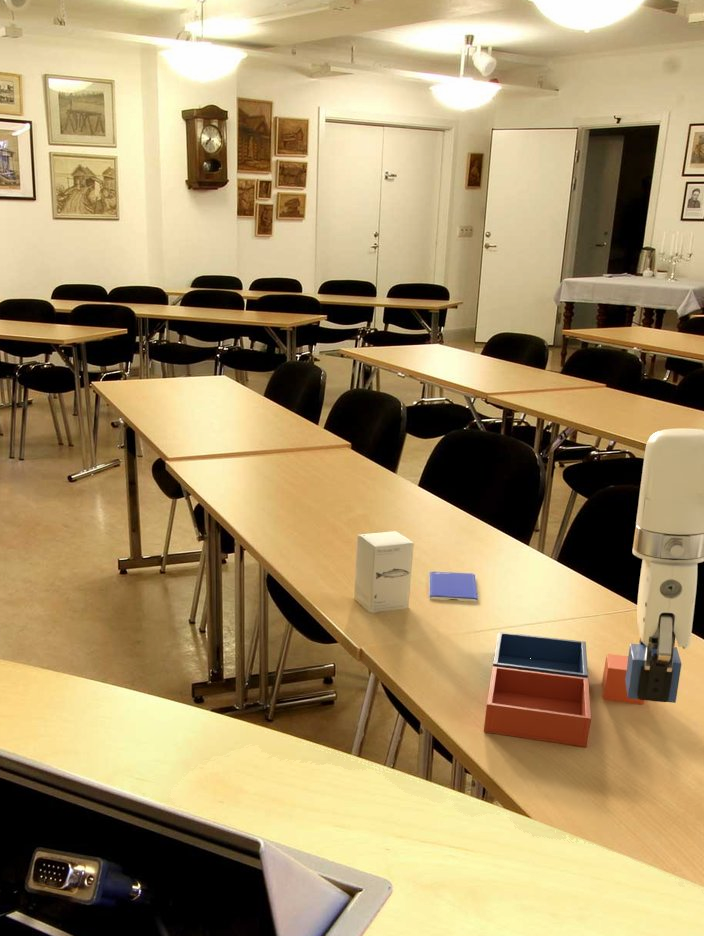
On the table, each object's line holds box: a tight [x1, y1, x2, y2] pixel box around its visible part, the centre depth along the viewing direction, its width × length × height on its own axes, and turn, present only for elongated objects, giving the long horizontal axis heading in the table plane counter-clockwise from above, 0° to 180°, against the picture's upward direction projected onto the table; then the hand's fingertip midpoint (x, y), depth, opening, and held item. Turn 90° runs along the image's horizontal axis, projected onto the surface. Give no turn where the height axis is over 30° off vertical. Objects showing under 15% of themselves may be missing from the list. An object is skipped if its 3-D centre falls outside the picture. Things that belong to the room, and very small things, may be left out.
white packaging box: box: [353, 530, 415, 614], centre depth 156 cm, size 7×7×13 cm
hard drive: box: [428, 571, 479, 603], centre depth 164 cm, size 2×8×12 cm
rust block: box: [601, 653, 645, 706], centre depth 124 cm, size 5×5×5 cm
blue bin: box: [492, 631, 589, 679], centre depth 131 cm, size 12×12×4 cm
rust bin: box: [483, 665, 592, 748], centre depth 119 cm, size 12×12×4 cm
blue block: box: [625, 643, 682, 704], centre depth 107 cm, size 5×5×5 cm
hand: (650, 688), depth 108 cm, fingers closed on blue block, 5 cm apart
